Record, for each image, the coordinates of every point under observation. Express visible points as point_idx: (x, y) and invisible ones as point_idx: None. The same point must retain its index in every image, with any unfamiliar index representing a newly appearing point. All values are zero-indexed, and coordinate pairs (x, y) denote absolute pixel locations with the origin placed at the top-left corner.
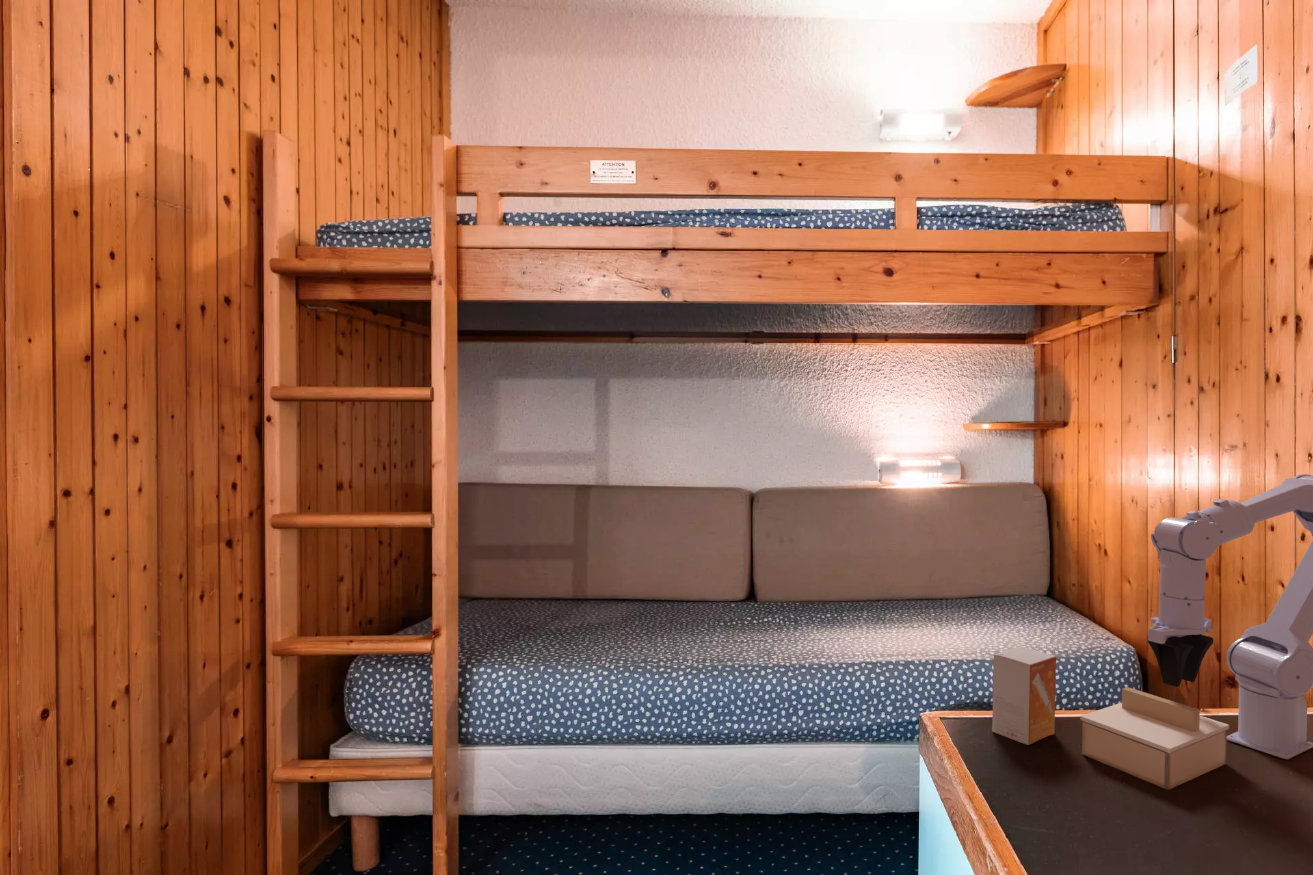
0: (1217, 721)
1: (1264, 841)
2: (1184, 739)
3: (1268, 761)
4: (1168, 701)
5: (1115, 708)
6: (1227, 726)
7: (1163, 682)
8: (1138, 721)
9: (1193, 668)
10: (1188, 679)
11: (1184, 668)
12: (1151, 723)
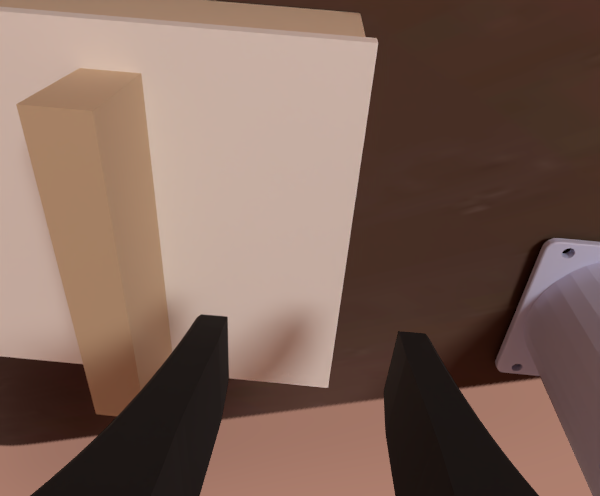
0: (327, 361)
1: (4, 410)
2: (29, 349)
3: (449, 339)
4: (104, 329)
5: (30, 52)
6: (315, 383)
7: (197, 318)
8: (3, 198)
9: (396, 474)
10: (387, 383)
11: (405, 421)
12: (43, 237)
